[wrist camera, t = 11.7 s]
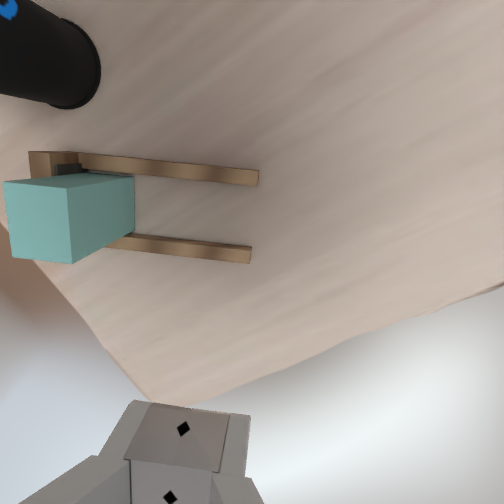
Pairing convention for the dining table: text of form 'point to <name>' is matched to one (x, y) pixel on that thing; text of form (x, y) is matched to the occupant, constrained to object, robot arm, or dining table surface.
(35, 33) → the aerosol can
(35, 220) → the teal rectangular block
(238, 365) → the dining table surface
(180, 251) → the channel
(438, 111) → the dining table surface
